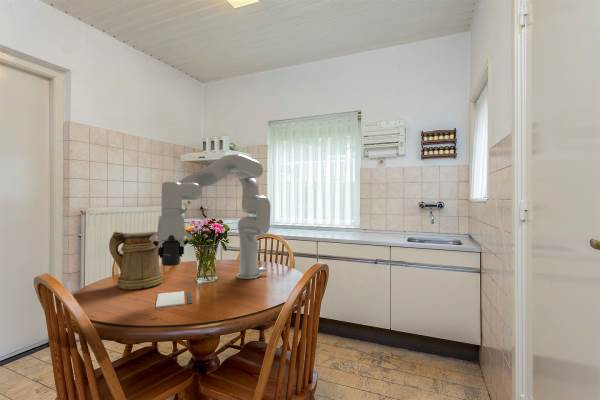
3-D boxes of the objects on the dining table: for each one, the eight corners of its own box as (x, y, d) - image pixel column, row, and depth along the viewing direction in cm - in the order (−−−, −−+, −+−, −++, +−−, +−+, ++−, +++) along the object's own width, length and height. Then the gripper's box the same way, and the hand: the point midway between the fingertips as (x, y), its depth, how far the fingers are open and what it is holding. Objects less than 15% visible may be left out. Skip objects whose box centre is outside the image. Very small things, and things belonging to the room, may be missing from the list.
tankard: (155, 289, 131) (156, 233, 131) (97, 291, 128) (98, 234, 128) (167, 278, 149) (167, 229, 149) (117, 280, 146) (117, 229, 146)
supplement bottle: (162, 266, 114) (162, 235, 114) (161, 263, 120) (161, 234, 120) (181, 265, 117) (181, 235, 117) (179, 262, 123) (179, 233, 123)
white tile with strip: (190, 291, 129) (190, 290, 129) (192, 303, 114) (192, 302, 114) (158, 294, 124) (158, 293, 124) (155, 307, 109) (155, 306, 109)
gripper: (194, 212, 125) (193, 254, 125) (148, 212, 119) (147, 256, 119) (194, 212, 119) (194, 257, 119) (146, 213, 112) (145, 260, 112)
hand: (171, 256), depth 119 cm, fingers closed on supplement bottle, 6 cm apart
